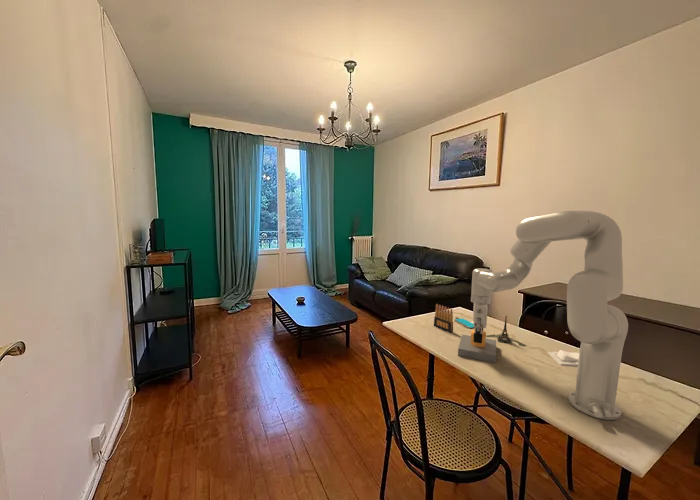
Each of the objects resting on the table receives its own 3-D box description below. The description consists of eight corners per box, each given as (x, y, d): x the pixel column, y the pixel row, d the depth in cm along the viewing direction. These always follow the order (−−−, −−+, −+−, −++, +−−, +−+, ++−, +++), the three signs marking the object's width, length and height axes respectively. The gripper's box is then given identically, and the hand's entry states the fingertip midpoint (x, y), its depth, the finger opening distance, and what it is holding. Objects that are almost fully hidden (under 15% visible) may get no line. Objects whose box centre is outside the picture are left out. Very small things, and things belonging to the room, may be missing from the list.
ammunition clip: (433, 326, 158) (434, 303, 157) (436, 325, 160) (437, 302, 158) (450, 332, 150) (451, 309, 148) (453, 332, 151) (454, 308, 149)
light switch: (547, 345, 129) (581, 346, 127) (547, 355, 130) (581, 356, 127) (559, 358, 119) (597, 359, 116) (559, 368, 119) (596, 369, 117)
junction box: (495, 362, 120) (496, 346, 119) (457, 355, 126) (458, 340, 125) (495, 346, 135) (496, 332, 134) (461, 340, 140) (462, 326, 140)
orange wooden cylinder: (484, 348, 126) (485, 335, 126) (470, 345, 129) (471, 333, 128) (485, 342, 131) (486, 331, 131) (471, 340, 134) (471, 328, 133)
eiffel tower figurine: (527, 347, 136) (530, 318, 134) (510, 350, 132) (512, 320, 130) (500, 334, 150) (502, 307, 148) (484, 337, 146) (486, 309, 144)
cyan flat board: (492, 330, 154) (492, 327, 154) (472, 333, 151) (472, 329, 151) (466, 317, 173) (466, 314, 173) (448, 319, 170) (448, 316, 170)
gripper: (490, 305, 118) (487, 348, 120) (491, 294, 134) (488, 332, 136) (469, 302, 121) (466, 344, 123) (472, 292, 137) (470, 329, 139)
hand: (478, 338), depth 130 cm, fingers open, 9 cm apart
